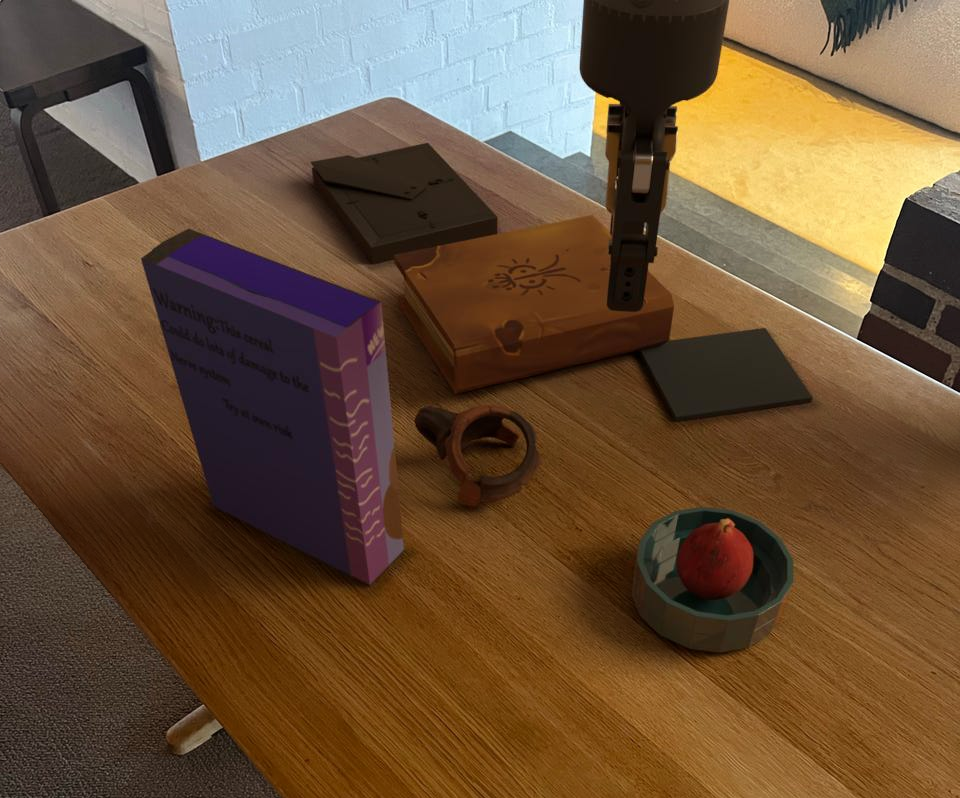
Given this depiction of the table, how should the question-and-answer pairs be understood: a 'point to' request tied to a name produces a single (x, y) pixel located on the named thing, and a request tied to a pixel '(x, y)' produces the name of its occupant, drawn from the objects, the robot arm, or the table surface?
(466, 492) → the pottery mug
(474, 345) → the diary
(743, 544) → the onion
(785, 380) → the mat
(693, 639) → the bowl
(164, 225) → the table surface
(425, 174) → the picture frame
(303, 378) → the purple book
